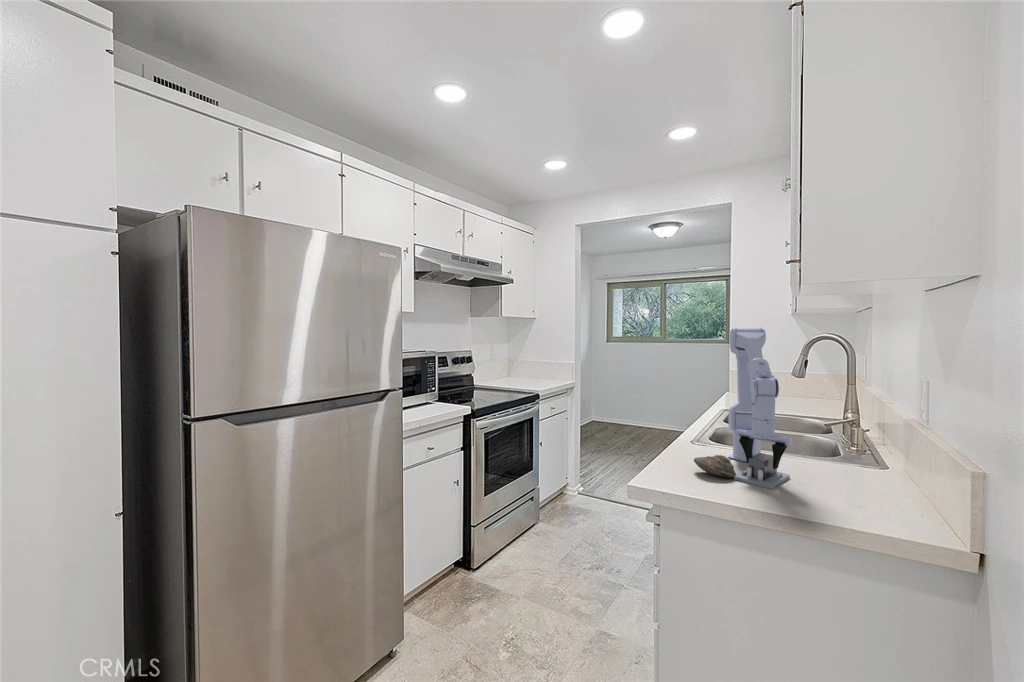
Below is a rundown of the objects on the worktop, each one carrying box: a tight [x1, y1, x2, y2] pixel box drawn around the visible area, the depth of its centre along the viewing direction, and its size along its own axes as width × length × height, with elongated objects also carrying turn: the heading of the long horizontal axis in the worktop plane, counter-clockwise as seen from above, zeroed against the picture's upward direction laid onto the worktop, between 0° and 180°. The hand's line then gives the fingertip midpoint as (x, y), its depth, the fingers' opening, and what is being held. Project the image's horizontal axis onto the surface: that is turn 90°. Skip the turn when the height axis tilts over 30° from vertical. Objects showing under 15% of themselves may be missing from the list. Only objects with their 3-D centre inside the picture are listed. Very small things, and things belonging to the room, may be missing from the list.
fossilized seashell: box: [693, 454, 738, 479], centre depth 133 cm, size 11×11×7 cm
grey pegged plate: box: [733, 466, 791, 490], centre depth 129 cm, size 14×10×4 cm
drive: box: [748, 452, 775, 480], centre depth 129 cm, size 8×4×6 cm, turn 131°
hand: (762, 465), depth 129 cm, fingers open, 6 cm apart
